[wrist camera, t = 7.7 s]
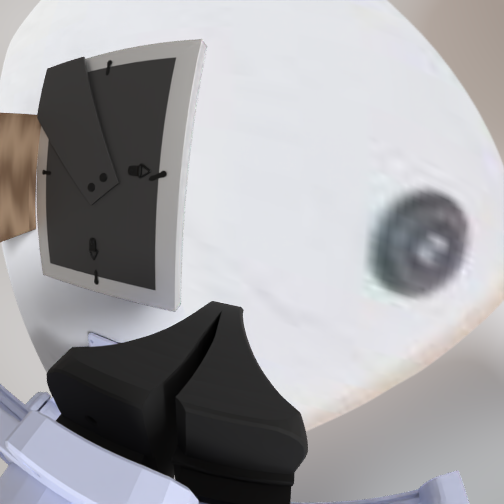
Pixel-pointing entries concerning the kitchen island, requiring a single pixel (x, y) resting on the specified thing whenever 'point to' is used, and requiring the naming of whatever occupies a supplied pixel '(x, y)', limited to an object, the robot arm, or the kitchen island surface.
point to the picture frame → (118, 169)
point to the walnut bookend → (18, 173)
